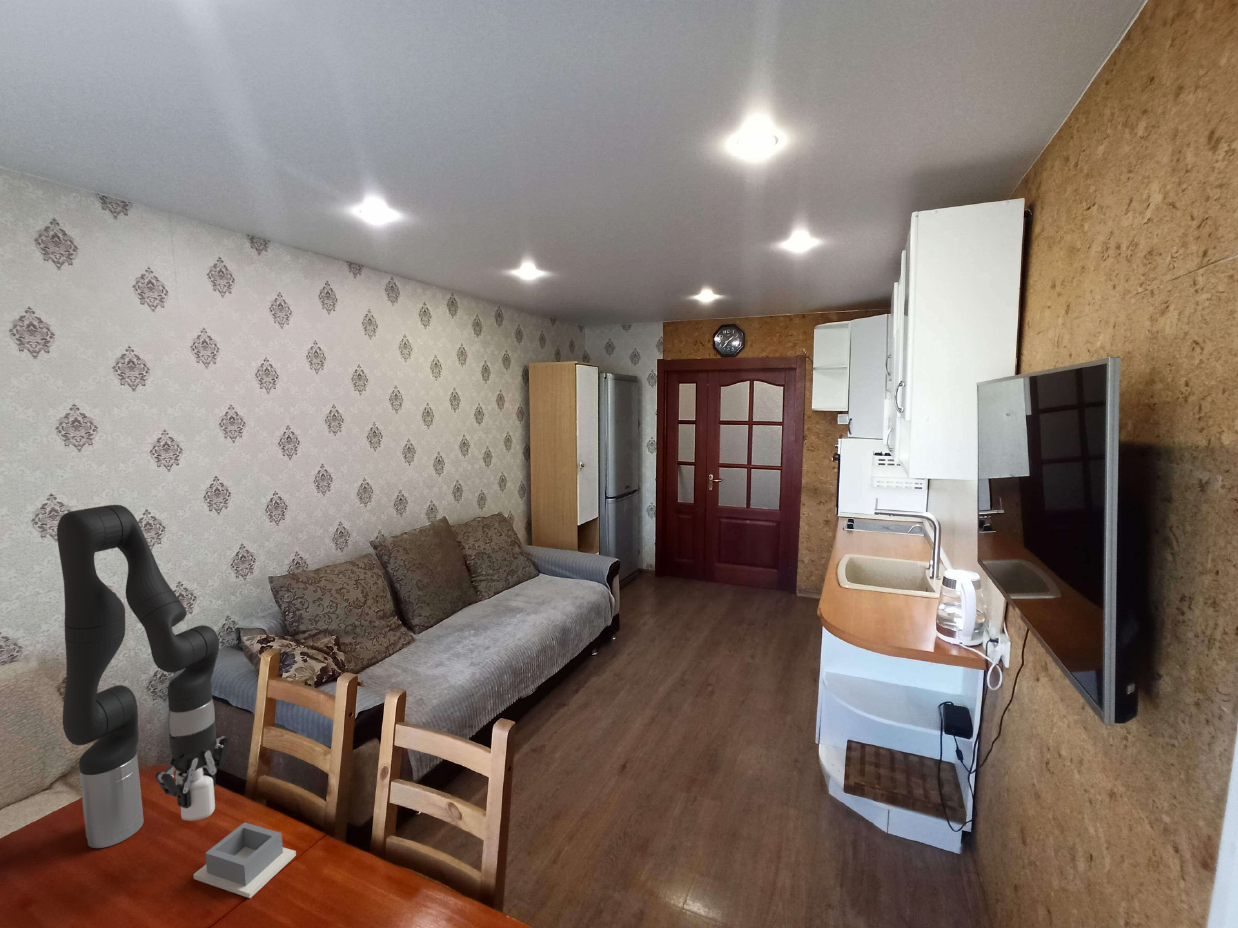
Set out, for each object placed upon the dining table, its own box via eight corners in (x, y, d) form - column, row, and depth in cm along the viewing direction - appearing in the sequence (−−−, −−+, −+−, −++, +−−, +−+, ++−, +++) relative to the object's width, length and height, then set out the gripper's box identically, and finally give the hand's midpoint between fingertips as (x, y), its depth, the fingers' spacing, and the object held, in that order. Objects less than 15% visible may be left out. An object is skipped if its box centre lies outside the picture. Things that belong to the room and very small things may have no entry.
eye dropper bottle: (196, 825, 111) (193, 772, 109) (178, 818, 112) (174, 765, 111) (218, 810, 115) (215, 759, 113) (200, 803, 117) (196, 752, 115)
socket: (193, 878, 109) (191, 854, 108) (242, 838, 119) (241, 816, 118) (250, 898, 105) (248, 872, 104) (295, 855, 115) (294, 831, 114)
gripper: (213, 701, 119) (217, 772, 121) (140, 739, 105) (146, 819, 107) (238, 708, 117) (242, 780, 119) (168, 747, 103) (174, 828, 105)
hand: (197, 798), depth 113 cm, fingers closed on eye dropper bottle, 4 cm apart
